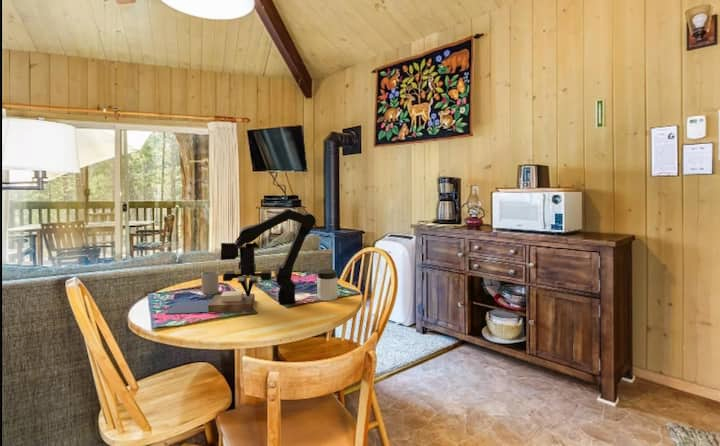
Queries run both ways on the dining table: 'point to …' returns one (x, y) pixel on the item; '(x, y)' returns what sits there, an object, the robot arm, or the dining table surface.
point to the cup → (210, 282)
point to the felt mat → (189, 307)
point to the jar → (327, 284)
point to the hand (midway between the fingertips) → (248, 296)
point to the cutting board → (231, 304)
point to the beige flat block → (232, 296)
